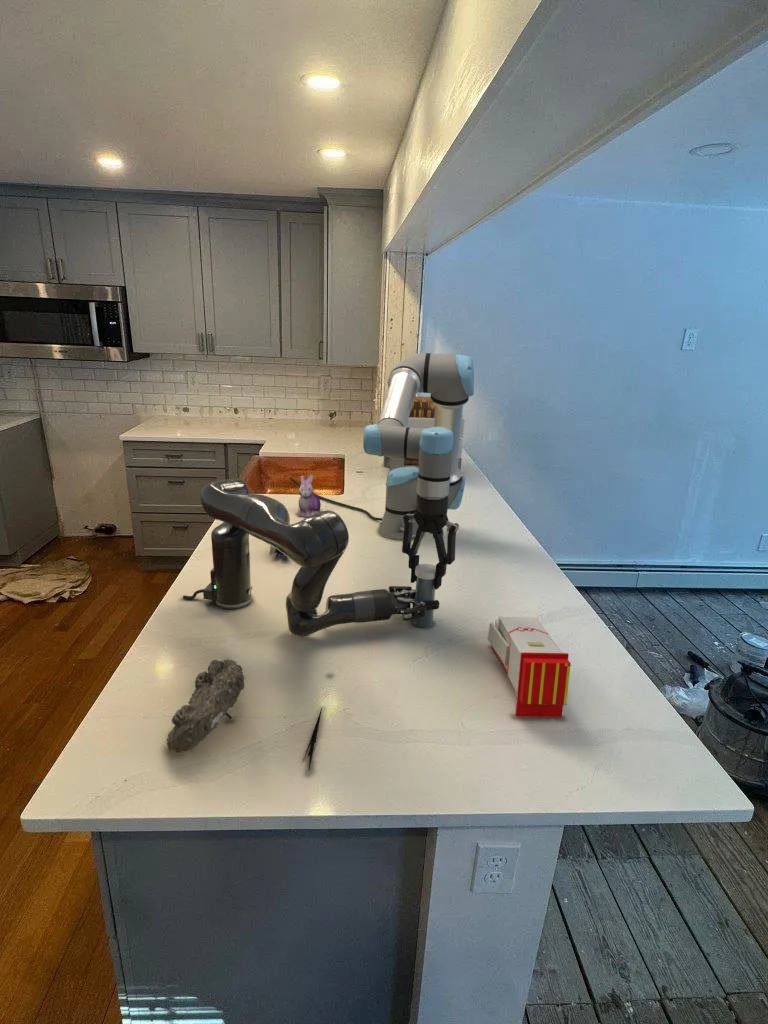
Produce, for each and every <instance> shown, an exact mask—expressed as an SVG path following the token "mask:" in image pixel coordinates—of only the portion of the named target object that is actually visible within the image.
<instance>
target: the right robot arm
mask: <svg viewBox="0 0 768 1024" xmlns="http://www.w3.org/2000/svg"><path fill="white" fill-rule="evenodd" d="M474 370H475V367H474V359H473V358H472V357H471V356H469V355H464V354H459V353H456V354H454V353H434V352H433V353H432V352H431V353H430V352H418V353H414V354H411V355H409V356H406V357H405V358H403V359H401V360H400V361H399V362H398V363H397V364H396V365H395V366H393V368H392V369H391V371H390V373H389V375H388V378H387V388H388V389H387V393H386V395H385V398H384V401H383V404H382V407H381V411H380V414H379V416H378V420H377V423H375V424H367V425H366V426H365V428H364V431H363V437H362V439H363V440H362V443H363V444H362V445H363V452H364V453H365V454H366V455H370V456H377V457H384V456H387V457H402V458H413V459H419V466H418V467H417V466H404V467H400V468H396V469H393V470H391V471H390V470H389V471H388V473H387V475H386V482H385V504H384V505H385V507H384V508H385V509H384V513H383V515H382V517H375V516H373V515H372V514H371V513H370V512H369V511H367V510H366V509H363V508H360V507H358V506H357V507H356V506H353V505H350V504H346V503H343V502H339V501H337V500H332V499H329V498H327V497H324V496H321V495H319V494H316V495H317V496H318V497H319V499H320V500H323V501H326V502H328V503H331V504H335V505H338V506H341V507H345V508H348V509H352V510H355V511H359V512H362V513H364V514H366V515H367V516H368V518H370V519H371V520H374V521H379V526H378V533H379V534H380V535H381V536H382V537H385V538H387V539H389V540H395V541H402V545H401V553H402V554H405V555H407V556H408V569H411V571H410V583H411V584H414V583H416V575H415V567H416V566H417V565H419V564H420V555H419V554H418V551H419V548H420V546H421V543H422V541H423V538H424V535H425V534H426V533H429V534H431V535H432V538H433V539H434V543H435V549H436V554H437V559H438V562H437V563H436V564H435V566H436V573H435V585H434V589H435V591H436V590H438V589H439V588H440V587H441V586H442V582H443V581H442V580H443V577H445V576H446V574H447V568H448V567H447V565H448V566H450V565H451V564H453V563H454V562H455V561H456V545H457V544H456V543H457V531H458V530H459V527H460V525H459V523H457V522H455V523H453V522H452V521H450V520H449V517H448V511H449V510H457V509H459V508H460V506H461V504H462V502H463V501H462V500H463V496H464V491H465V486H466V477H465V476H463V474H462V470H461V471H460V469H458V457H459V446H460V439H461V438H460V434H461V423H462V419H463V410H464V406H465V405H466V404H467V403H468V402H469V398H470V397H473V396H474V394H475V371H474ZM419 393H420V394H421V393H423V394H430V397H431V400H432V402H433V403H435V415H434V427H432V428H426V429H424V428H410V427H407V423H408V419H409V415H410V411H411V407H412V403H413V399H414V396H415V397H416V395H417V394H419ZM289 480H290V481H291V482H293V483H294V484H295V485H296V486H297V487H298V488H300V486H301V483H299V482H298V481H297V480H295V478H293V477H291V476H290V477H289ZM445 527H446V531H447V538H446V539H447V540H446V544H445V538H444V528H445ZM412 540H413V541H412Z"/></svg>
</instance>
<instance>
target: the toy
mask: <svg viewBox="0 0 768 1024" xmlns="http://www.w3.org/2000/svg"><path fill="white" fill-rule="evenodd" d="M488 625H489V627H488V633H487V641H488V642H489V644H490V646H491V647H490V648H491V649H492V650H493V652H494V654H495V656H496V658H497V659H498V660H499V662H500V664H501V666H502V668H503V669H504V671H505V673H506V674H507V676H508V678H509V680H510V682H511V685H512V686H513V689H514V690H515V693H516V704H515V717H516V718H517V717H518V718H519V717H520V718H521V717H522V718H563V710H564V705H567V701H568V692H569V685H570V684H569V683H570V676H571V675H570V674H571V666H572V664H571V661H570V660H569V655H570V654H569V653H568V652H563V651H562V649H561V648H560V647H559V646H558V644H557V643H556V642H555V640H554V639H553V638H552V636H551V635H550V634H549V632H548V631H547V629H546V628H545V627H544V626H543V624H542V622H541V621H540V620H539V619H538V618H537V616H498V618H496V619H494V623H493V622H489V624H488Z"/></svg>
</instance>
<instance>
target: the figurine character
mask: <svg viewBox="0 0 768 1024" xmlns="http://www.w3.org/2000/svg"><path fill="white" fill-rule="evenodd" d="M269 555H270V556H274V559H275V560H278V558H279V556H281V557H282V556H284V557H283V560H287V559H288V557H287V556H286V555H284V554H283V553H282V552H280V551H279V550H278V549H276V548H275V547H273V546H271V545H270V547H269Z"/></svg>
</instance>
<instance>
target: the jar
mask: <svg viewBox="0 0 768 1024" xmlns="http://www.w3.org/2000/svg"><path fill="white" fill-rule="evenodd" d="M434 585H435V579H422V578H419V577H417V576H416V581H415V588H414V589H415V600H416V601H422V602H425V601H432V600H436V589H434ZM418 606H420V605H416V606H415V607H418ZM418 613H420V612H418ZM418 613H417V614H418ZM434 613H435V610H427V611H425V616H424V617H420V618H416V619H413V620H412V623H413V624H414V625H415V626H416V627H419V628H429V627H430V628H431V626H432V625H433V624H434V623H433V622H434Z"/></svg>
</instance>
